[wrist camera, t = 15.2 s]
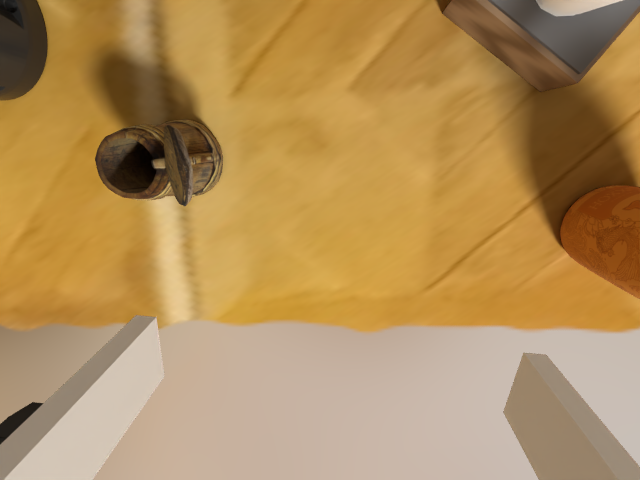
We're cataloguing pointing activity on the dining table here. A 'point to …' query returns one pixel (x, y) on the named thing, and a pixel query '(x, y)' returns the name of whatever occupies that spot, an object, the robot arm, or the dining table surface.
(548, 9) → the foam cup
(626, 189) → the wine bottle
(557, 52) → the walnut stand
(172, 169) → the wooden mug
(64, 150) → the dining table surface
